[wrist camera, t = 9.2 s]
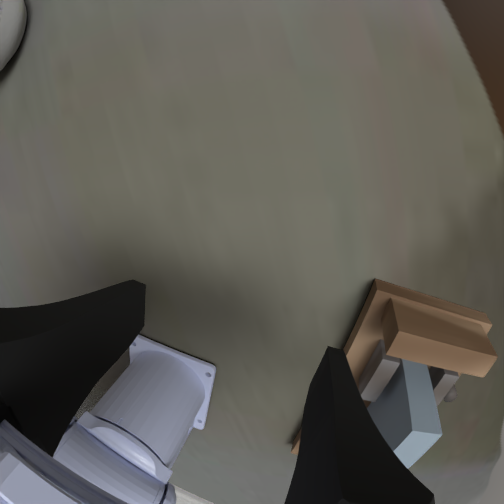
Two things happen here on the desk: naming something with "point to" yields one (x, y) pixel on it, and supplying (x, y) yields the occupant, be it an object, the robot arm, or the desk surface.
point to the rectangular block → (407, 412)
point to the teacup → (11, 28)
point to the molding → (188, 497)
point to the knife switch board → (415, 341)
